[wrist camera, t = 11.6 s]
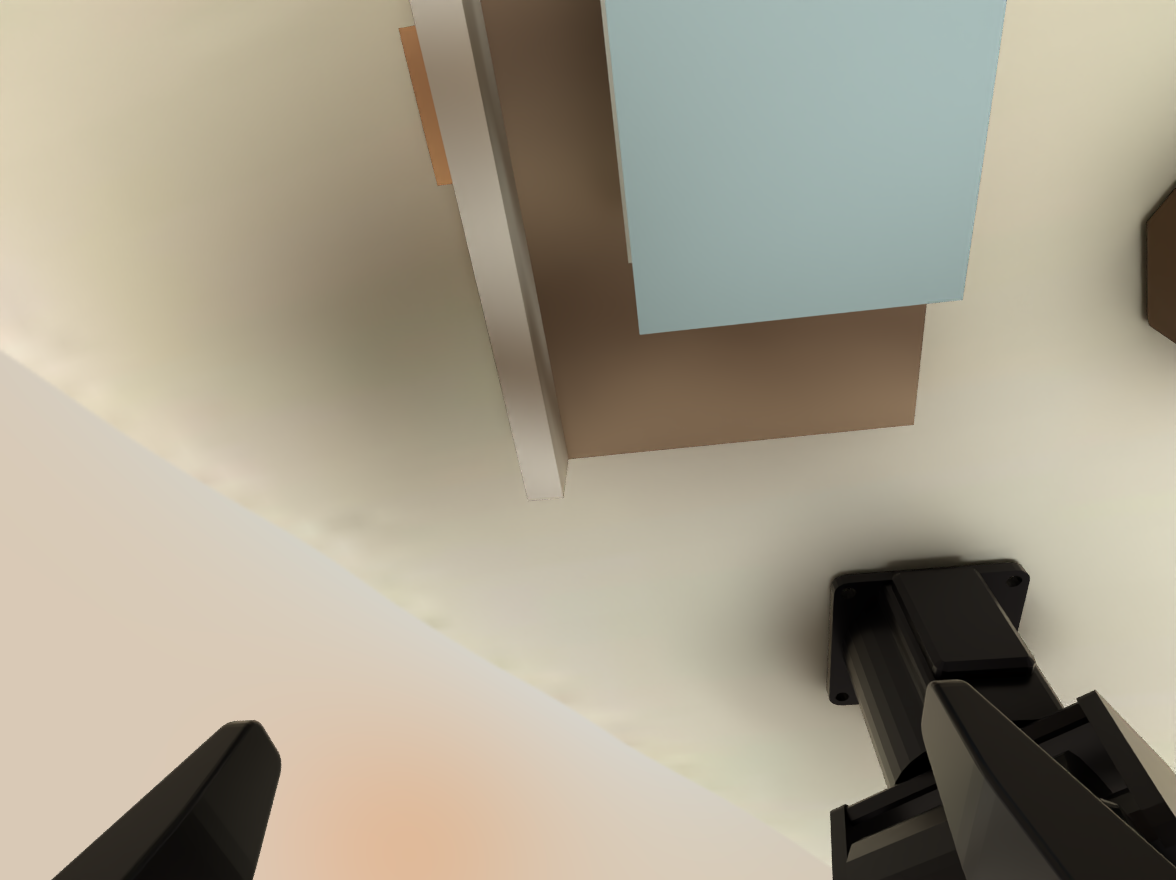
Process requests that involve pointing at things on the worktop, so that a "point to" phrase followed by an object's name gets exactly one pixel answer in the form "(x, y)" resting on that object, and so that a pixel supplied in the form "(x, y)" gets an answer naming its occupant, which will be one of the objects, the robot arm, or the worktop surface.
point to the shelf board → (610, 264)
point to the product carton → (798, 152)
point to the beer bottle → (1162, 268)
